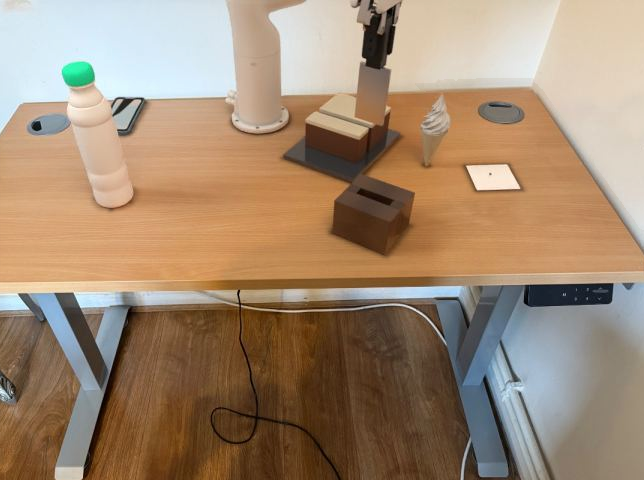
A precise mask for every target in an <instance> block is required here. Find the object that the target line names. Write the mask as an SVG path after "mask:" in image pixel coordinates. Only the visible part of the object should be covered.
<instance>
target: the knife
mask: <svg viewBox="0 0 644 480" xmlns="http://www.w3.org/2000/svg"><path fill="white" fill-rule="evenodd" d="M371 15H372V16H376V17H377V19H379V15H376V14H371ZM392 18H393V15H390V14H386V21H385V29H384V32H385V33H386V41H385V49H384V56H383V60H382V61H381V62H375V61H372V60H368V59H365V61H363V60H361V61H360V62H359V69H358V78H357V87H356V96H355V97H356V107H355V118H358V119H361V120H364V121H367V122H370V123H374V124H377V125H380V126H383V124H384V118H385V111H386V106H387V103H388V97H389V89H390V83H391V75H392V69H391V68H388V67H385V66H387V61H388V55H387V54H388V47H389V40H390V32H391V25H392Z"/></svg>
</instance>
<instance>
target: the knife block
mask: <svg viewBox="0 0 644 480" xmlns="http://www.w3.org/2000/svg"><path fill="white" fill-rule="evenodd" d="M415 195H416V192H414V191H411V190H408V189H405V188H403V187H400V186H397V185H395V184H391V183H390V182H389V183H388V182H386V181H383V180H380V179H378V178H375V177H371V176H369V175H366V174H364V173H363V174H360V175H359V176H358V177H357V178H356V179H355V180H354V181H353V182H352V183H349V185H348V186H347V187H346V188H345V189H344V190H343V191H342V192H341V193H340V194H339V195H338V196H337V197H336V198H335V199H334V201H333V213H332V229H331V234H333V235H335V236H337V237H340V238H342V239H345V240H346V241H349V242H352V243H354V244H357V245H359V246H361V247H364V248H367V249H369V250H371V251H373V252H375V253H378V254H380V255H383V256H385V255H386V254H387V253H388V252H389V251H390V249H391V248H392V247H393V246H394V244H395V243H396V242H397V241H398V239H399V238H400V237H401V236H402V234H403V233H404V232H405V231H406V230H407V228H408V227H409V225H410V221H411V215H412V211H413V205H414V200H415Z"/></svg>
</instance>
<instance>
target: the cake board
mask: <svg viewBox="0 0 644 480" xmlns="http://www.w3.org/2000/svg"><path fill="white" fill-rule="evenodd" d="M400 137H401V132H400V131H397V130H393V129H391V128H388V133H387V135H386V136H385V137H384V138H383V139H382V140H381V141H380V142H379V143H378V144H377V145H376V146H375V147H374V148H373V149H371V150H370V151H369V152H368V151H366V155H365V156H364V157H363V158H362V159H361V160H360V161H359V162H358V163H357V164H356V163H353V162H351V161H348V160H345V159H342V158H339V157H336V156H333V155H330V154H327V153H325V152H322V151H319V150H316V149H313V148H310V147H307V146H305V136H303V137H302V138H301V139H300V140H299V141H297V142H296V143H295V144H294V145H293V146H291V147H290V148H289V149H288V150H286V152H285V153H283V159H284V160H287V161H290V162H292V163H295V164H298V165H301V166H303V167H306V168H309V169H312V170H314V171H317V172H320V173H323V174H325V175H328V176H331V177H333V178H336V179H338V180H341V181H345V182H347V183H349V184H351V183H352V182H353V181H354V180H355V179H356V178H357V177H358V176H359V175H360V174H363V175H364V173H366V171H367V170H369V168H371V166H372V165H373V164H375V163H376V162H377V160H378V159H380V157H381V156H382V155H383V154H384V153H385V152H386V151H387V150H389V148H391V146H392V145H394V143H395V142H396V141H397V140H399V138H400Z"/></svg>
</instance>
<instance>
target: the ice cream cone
mask: <svg viewBox="0 0 644 480" xmlns="http://www.w3.org/2000/svg"><path fill="white" fill-rule="evenodd" d="M431 108H432V109H431V110H429V111H427V112H426V113H427V115H423V118H424V119H425V120H423V121H422V123H421V124H420V127H419V129H420V132H421V143H422V153H423V160H424V167H428V166H429V164H430V162H431V160H432V159H433V157H434V155H435V154H436V152H437V150H438V148H439V146H440V145H441V143H442V141H443V139H444V138H445V137H446V134H447V133H448V132H449V129H450V125H451V116H450V115H449V113H448V112H447V110H448V108H447V105H446V102H445V97H444V92H441V94H440V96H439V97H438V98H437V100H436V101H435V103H434V104H433V105H432V106H431Z"/></svg>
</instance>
